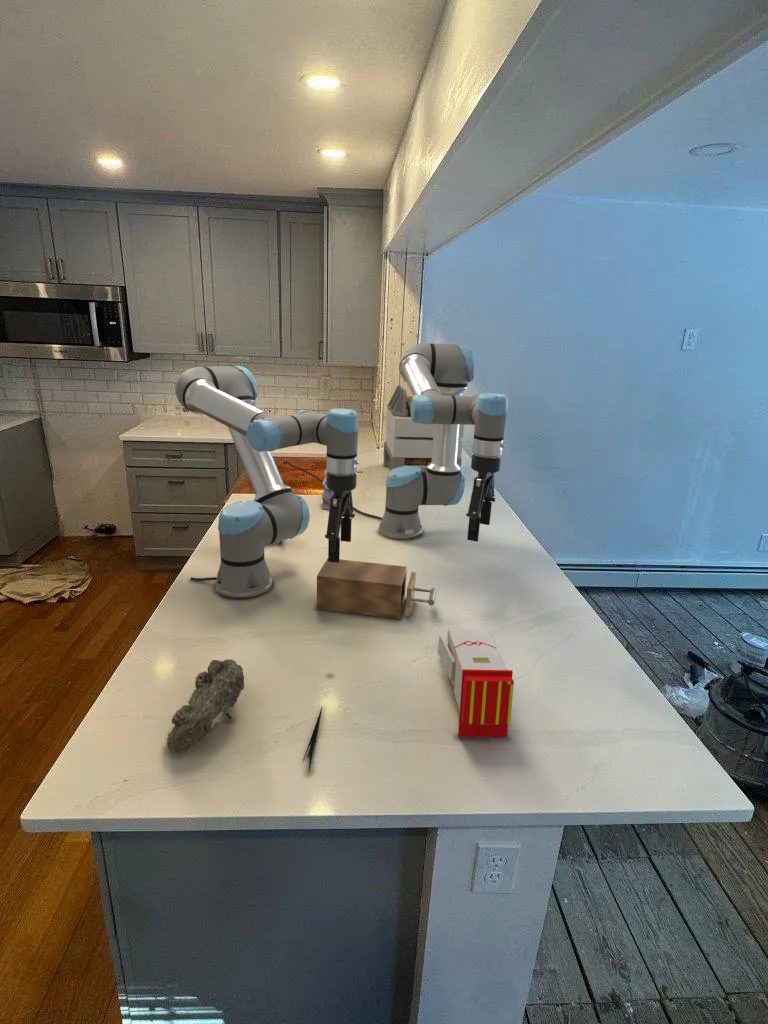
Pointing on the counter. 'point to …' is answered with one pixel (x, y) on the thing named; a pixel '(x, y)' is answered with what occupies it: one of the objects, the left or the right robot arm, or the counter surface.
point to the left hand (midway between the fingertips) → (340, 550)
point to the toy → (478, 682)
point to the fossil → (206, 705)
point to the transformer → (409, 435)
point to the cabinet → (361, 588)
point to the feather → (313, 740)
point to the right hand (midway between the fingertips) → (478, 532)
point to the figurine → (326, 494)
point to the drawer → (411, 592)
